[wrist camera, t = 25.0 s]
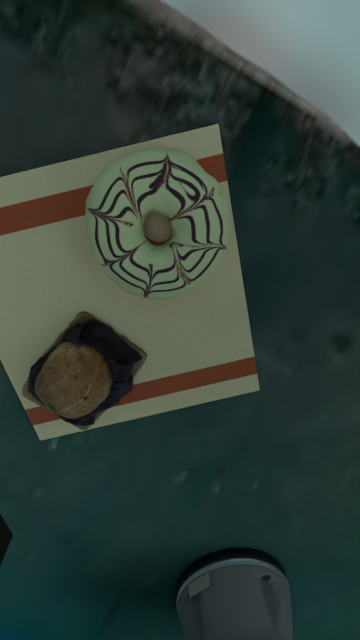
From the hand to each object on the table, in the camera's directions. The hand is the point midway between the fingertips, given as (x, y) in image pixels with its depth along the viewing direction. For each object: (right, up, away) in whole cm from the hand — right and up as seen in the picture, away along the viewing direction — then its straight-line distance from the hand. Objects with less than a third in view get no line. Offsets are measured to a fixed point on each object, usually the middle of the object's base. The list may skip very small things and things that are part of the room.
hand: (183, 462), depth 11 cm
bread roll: (-9, 0, +20) cm, 22 cm away
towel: (-6, +6, +19) cm, 21 cm away
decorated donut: (-2, +12, +16) cm, 20 cm away
